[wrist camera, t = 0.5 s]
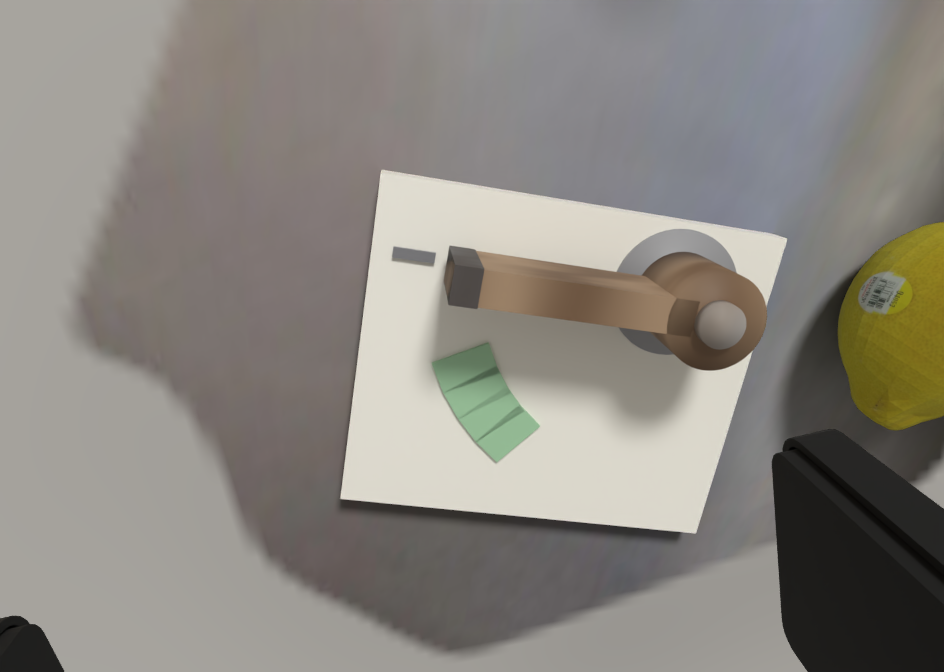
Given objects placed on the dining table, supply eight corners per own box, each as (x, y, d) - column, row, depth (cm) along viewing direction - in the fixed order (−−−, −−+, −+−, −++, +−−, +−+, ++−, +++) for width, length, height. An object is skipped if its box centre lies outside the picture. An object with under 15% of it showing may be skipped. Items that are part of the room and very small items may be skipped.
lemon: (908, 171, 34) (1051, 188, 27) (996, 264, 36) (1151, 304, 29) (758, 333, 36) (849, 391, 29) (848, 411, 38) (956, 485, 31)
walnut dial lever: (732, 258, 33) (787, 283, 28) (707, 343, 34) (756, 381, 29) (453, 215, 31) (461, 233, 26) (439, 306, 32) (443, 340, 27)
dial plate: (771, 233, 35) (789, 239, 33) (685, 518, 40) (697, 535, 38) (382, 169, 32) (380, 172, 30) (343, 483, 37) (339, 500, 35)
